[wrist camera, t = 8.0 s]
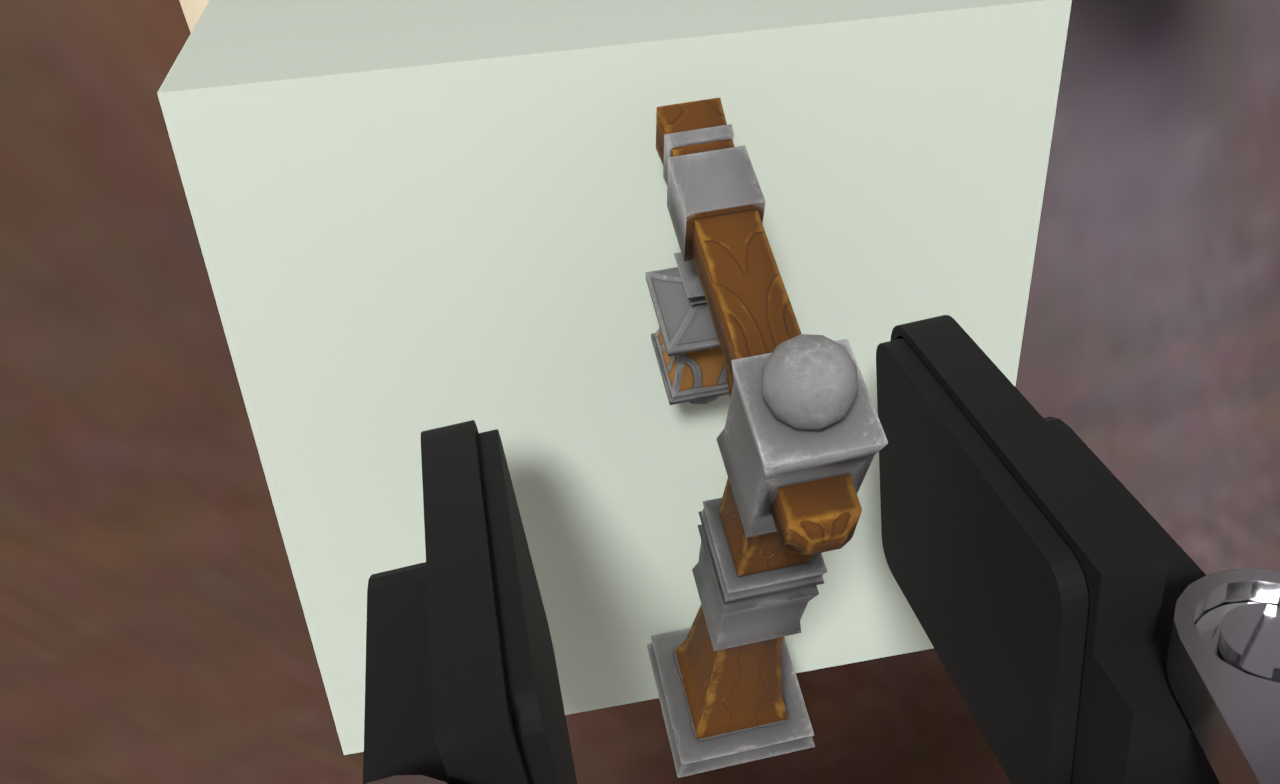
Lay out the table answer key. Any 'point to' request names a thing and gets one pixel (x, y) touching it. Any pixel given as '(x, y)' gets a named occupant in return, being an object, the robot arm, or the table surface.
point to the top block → (583, 270)
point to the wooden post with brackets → (748, 453)
